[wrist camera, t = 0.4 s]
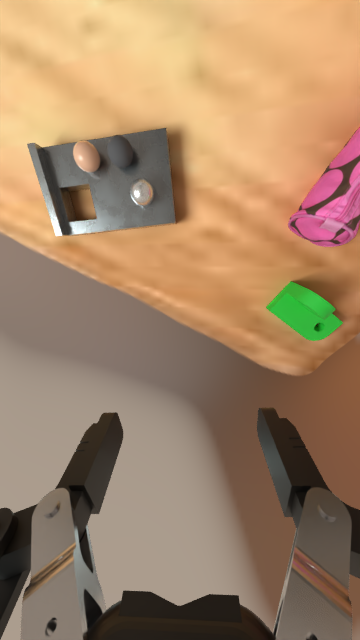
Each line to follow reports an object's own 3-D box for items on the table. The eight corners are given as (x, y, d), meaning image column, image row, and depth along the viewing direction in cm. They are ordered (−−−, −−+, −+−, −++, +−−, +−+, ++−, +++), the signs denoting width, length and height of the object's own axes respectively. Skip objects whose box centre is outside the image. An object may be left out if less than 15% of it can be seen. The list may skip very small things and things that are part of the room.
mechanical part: (265, 306, 37) (284, 324, 29) (290, 280, 35) (317, 292, 27) (309, 341, 39) (337, 365, 32) (335, 318, 37) (371, 338, 30)
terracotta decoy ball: (78, 148, 27) (64, 137, 24) (100, 145, 26) (89, 133, 23) (84, 177, 28) (72, 169, 25) (106, 173, 28) (96, 166, 25)
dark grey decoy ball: (110, 143, 26) (100, 131, 23) (133, 140, 26) (126, 127, 23) (115, 172, 28) (106, 164, 25) (138, 169, 27) (131, 161, 24)
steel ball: (131, 183, 28) (124, 177, 25) (153, 180, 28) (149, 173, 25) (135, 209, 29) (129, 206, 26) (157, 206, 29) (153, 202, 26)
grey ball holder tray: (47, 155, 29) (27, 143, 26) (167, 137, 28) (164, 121, 24) (70, 236, 33) (56, 235, 30) (176, 223, 32) (174, 221, 28)
